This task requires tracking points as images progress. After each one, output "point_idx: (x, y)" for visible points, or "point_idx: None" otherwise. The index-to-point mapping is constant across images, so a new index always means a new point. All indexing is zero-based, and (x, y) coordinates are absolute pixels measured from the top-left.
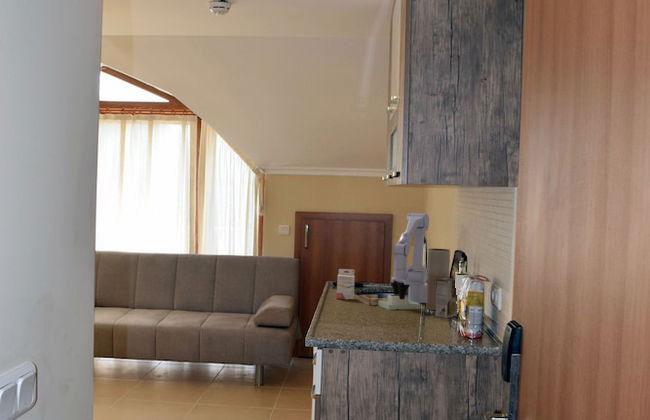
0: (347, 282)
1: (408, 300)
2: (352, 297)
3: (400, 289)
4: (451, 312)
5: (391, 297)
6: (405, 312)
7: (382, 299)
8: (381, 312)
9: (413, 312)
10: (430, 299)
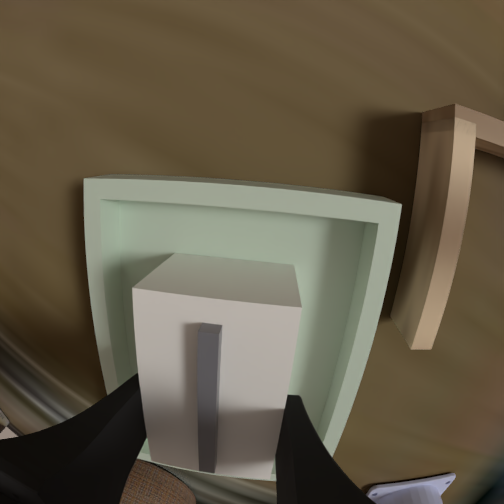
0: None
1: None
2: None
3: (47, 434)
4: None
5: (146, 286)
6: (6, 252)
7: (425, 283)
8: (23, 62)
9: (12, 307)
10: None
